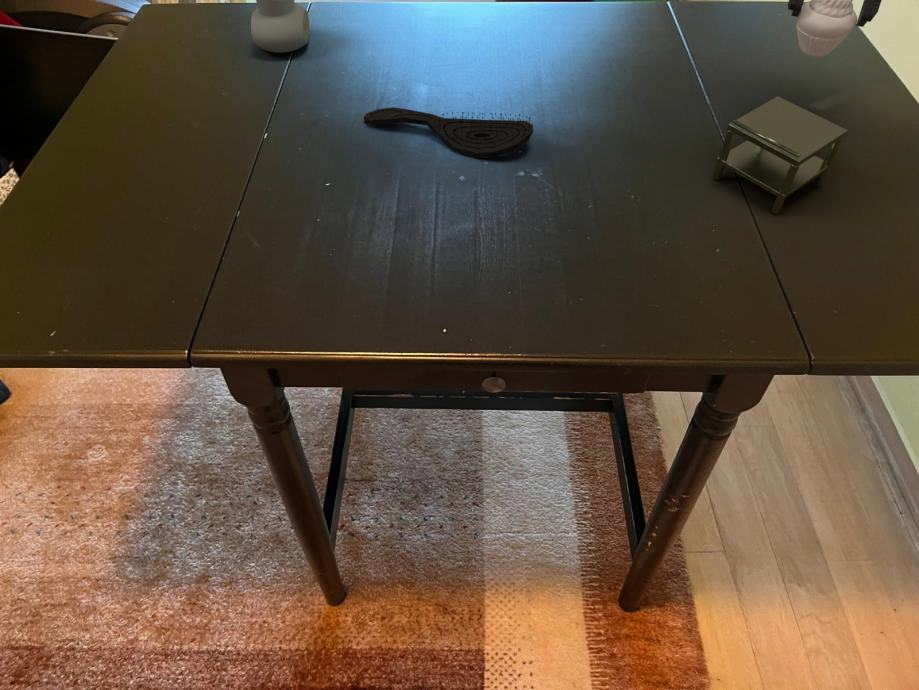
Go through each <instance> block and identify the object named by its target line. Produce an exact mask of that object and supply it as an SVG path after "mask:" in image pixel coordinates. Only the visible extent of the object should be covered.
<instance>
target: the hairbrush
mask: <svg viewBox="0 0 919 690" xmlns="http://www.w3.org/2000/svg"><path fill="white" fill-rule="evenodd" d="M456 113H457V114H459V111H457V112H456ZM464 113H465V112H461V118H459V117H457V116H454V117H450V118H449V117H443V116H444V115H445V114H444V113H442V114H441V116H439V115H436V114H433V113H429V112H423V111H418V110H415V109H414V110H413V109H407V108H400V107H396V106H395V107H394V106H393V107H384V108H378V109H374V110H372V111H368V112H367V113H365V114H364V115H363V121H364V123H366V124H367V125H370V126H381V125H394V124H395V125H396V124H413V125H418V126H419V125H420V126H426V127H428V128H429V130H431V132H433V133H434V135H436V136H437V137H438V138H439V139H440V140H441V142H443V144H444V145H446V147H447V148H449V149H450V150H452V151H454V152H456V153H458V154H459V155H461V156H466V157H471V158H475V159H481V158H482V159H484V158H496V157H500V156H502V155H505V154H508V153H510V152H513V151H516V150H517V149H519V148H520V147H521V146H523V145H524V144H525V143H527V142H529V140H530V138H531V137H532V135H533V133H534V132H535V131H534V124H532V123H531V117H530V116H527V115H525V118H526V119H528V120H524V118H522V119H523V120H522V119H521V118H520V117H521V113H518V116H519V117H517V118H516V116H517V115H516V114H514V118H516V120H514V118H512V119H510V117H511V116H512V114H511V113H510V114H509V116H510V117H508V118H507V119H508V120H507V119H505V118H506V116H507V113H505V114H504V116H505V117H502V116H503V114H502V113H499V115H500V117H497V118H498V119H495V117H494V116H491V119H485V118H484V116H481V119H479V117H480V115H483V114H484V115H486V113H485V112H484V113H482V112H478V114H479V115H478V116H476V118H477V119H476V118H474V116H471V118H470V117H469V116H470V112H468V113H467V114H468V115H466V116H465V118H464ZM446 114H447V115H448V114H449V113H448V112H446ZM453 114H454V112H453V111H452V112H451V115H453ZM471 115H475V112H471ZM489 115H493V112H490V113H489ZM494 115H495V116H496V115H497V113H496V112H495V113H494ZM467 116H468V117H467Z"/></svg>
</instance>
